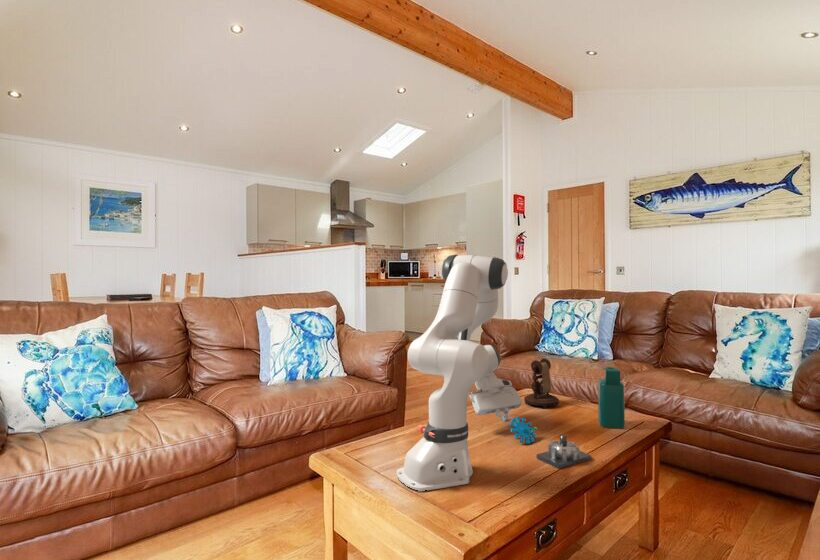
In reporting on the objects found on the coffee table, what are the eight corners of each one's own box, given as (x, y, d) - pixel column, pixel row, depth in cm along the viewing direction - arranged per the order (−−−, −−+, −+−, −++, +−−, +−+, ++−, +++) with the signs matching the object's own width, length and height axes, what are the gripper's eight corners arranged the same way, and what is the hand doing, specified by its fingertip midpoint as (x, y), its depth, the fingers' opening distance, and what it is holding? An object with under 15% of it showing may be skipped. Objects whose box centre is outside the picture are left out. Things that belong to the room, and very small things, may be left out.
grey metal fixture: (558, 469, 131) (558, 444, 131) (536, 458, 138) (536, 435, 138) (591, 459, 137) (590, 436, 137) (568, 449, 145) (568, 427, 145)
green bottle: (597, 420, 173) (597, 364, 173) (621, 422, 171) (620, 365, 171) (601, 429, 164) (600, 369, 164) (626, 430, 162) (625, 370, 161)
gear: (518, 442, 147) (507, 415, 154) (509, 451, 151) (499, 424, 158) (544, 442, 152) (532, 415, 158) (535, 450, 155) (524, 423, 162)
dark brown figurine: (546, 411, 186) (546, 364, 186) (517, 404, 197) (517, 359, 197) (565, 404, 195) (565, 359, 195) (536, 397, 207) (536, 355, 207)
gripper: (471, 387, 163) (488, 421, 154) (513, 380, 172) (532, 412, 164) (464, 396, 167) (480, 430, 158) (506, 389, 176) (523, 420, 168)
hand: (507, 421), depth 161 cm, fingers closed
